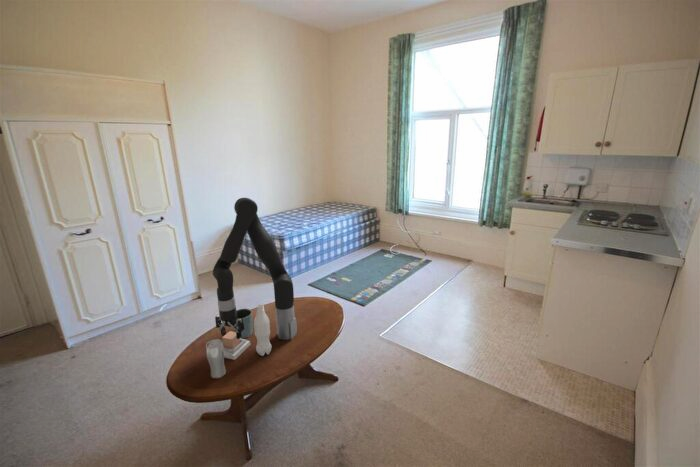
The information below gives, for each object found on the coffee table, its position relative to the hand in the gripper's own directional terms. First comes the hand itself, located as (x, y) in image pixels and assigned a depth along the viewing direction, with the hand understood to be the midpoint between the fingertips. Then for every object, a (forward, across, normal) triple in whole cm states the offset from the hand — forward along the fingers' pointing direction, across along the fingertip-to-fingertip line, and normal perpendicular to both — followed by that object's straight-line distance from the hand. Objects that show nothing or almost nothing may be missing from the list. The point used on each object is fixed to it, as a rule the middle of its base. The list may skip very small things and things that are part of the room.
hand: (231, 336), depth 152 cm
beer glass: (+8, -4, +16) cm, 18 cm away
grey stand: (+7, 0, 0) cm, 7 cm away
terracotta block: (+5, 0, 0) cm, 5 cm away
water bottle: (+8, -16, -3) cm, 18 cm away
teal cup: (+8, +3, -13) cm, 15 cm away
